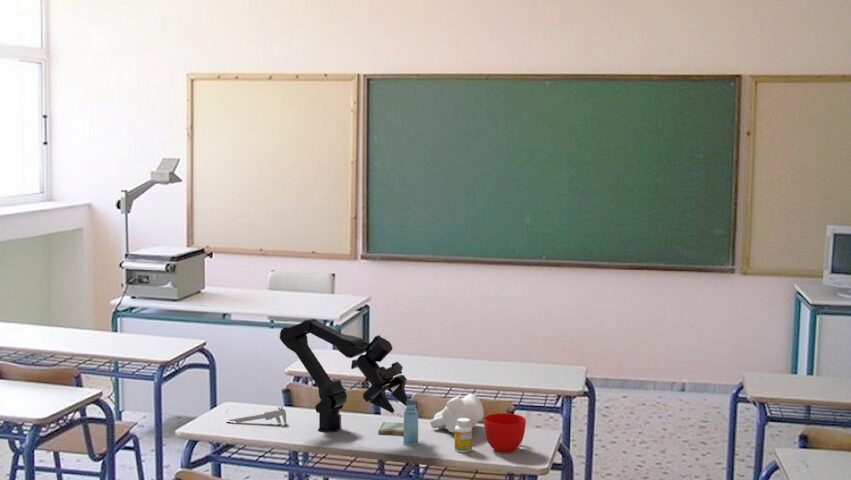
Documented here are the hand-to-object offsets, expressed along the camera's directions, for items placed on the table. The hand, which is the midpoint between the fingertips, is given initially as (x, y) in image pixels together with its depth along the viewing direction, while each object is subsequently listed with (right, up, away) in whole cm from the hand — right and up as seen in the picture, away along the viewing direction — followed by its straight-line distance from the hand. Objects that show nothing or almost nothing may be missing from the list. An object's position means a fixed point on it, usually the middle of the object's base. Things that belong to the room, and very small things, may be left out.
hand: (401, 408), depth 320 cm
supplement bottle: (+19, -12, -7) cm, 24 cm away
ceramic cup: (+33, -12, -5) cm, 35 cm away
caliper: (-50, -9, +21) cm, 55 cm away
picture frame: (-2, -10, +14) cm, 17 cm away
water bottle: (+3, -11, -1) cm, 11 cm away
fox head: (+17, -10, +14) cm, 24 cm away
